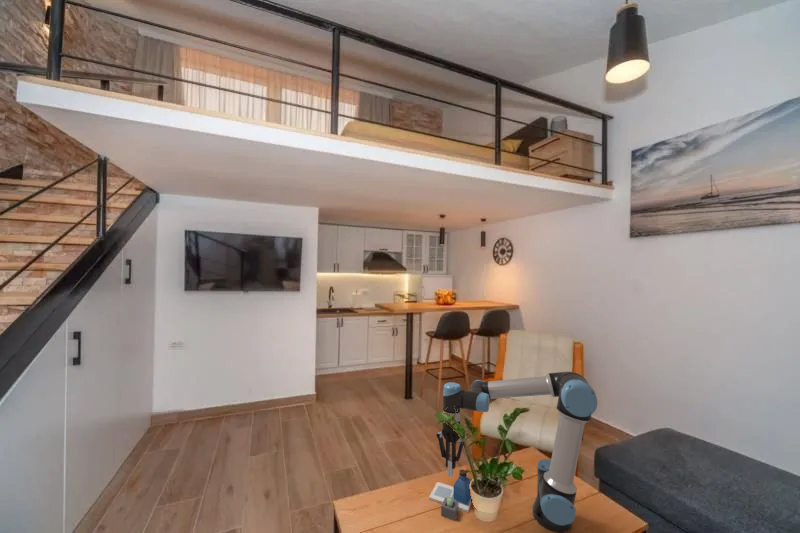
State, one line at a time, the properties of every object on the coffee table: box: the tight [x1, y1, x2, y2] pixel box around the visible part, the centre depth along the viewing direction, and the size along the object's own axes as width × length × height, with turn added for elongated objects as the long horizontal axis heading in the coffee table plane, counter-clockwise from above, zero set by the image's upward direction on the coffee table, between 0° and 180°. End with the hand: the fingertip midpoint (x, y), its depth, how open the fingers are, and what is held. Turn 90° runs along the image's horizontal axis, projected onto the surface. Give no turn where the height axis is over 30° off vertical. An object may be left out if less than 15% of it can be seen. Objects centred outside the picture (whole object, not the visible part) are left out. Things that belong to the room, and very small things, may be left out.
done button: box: [447, 497, 453, 508], centre depth 136 cm, size 3×3×4 cm
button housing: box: [440, 497, 459, 521], centre depth 136 cm, size 6×6×4 cm
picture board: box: [428, 481, 472, 513], centre depth 146 cm, size 18×12×1 cm, turn 65°
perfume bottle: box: [453, 469, 471, 505], centre depth 144 cm, size 6×6×12 cm
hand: (450, 474), depth 137 cm, fingers closed
